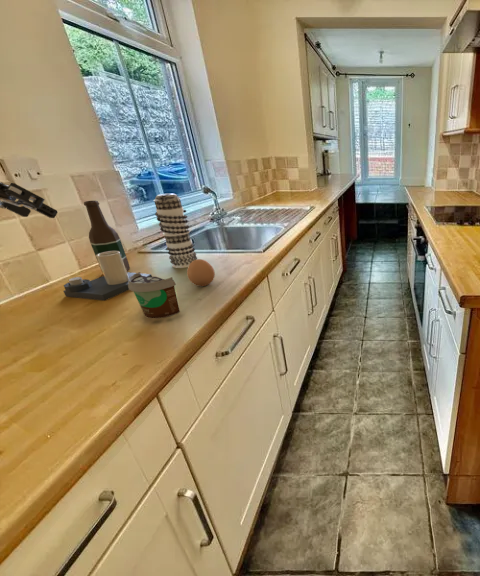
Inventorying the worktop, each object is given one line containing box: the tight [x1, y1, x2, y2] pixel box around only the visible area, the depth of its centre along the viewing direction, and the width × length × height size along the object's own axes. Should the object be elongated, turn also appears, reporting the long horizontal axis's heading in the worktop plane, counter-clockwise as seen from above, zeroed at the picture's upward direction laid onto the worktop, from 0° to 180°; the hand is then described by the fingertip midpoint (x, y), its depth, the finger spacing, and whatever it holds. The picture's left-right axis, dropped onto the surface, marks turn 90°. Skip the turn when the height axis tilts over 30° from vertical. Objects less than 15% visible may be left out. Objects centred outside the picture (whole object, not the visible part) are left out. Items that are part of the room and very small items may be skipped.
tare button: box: [68, 276, 84, 285], centre depth 92 cm, size 3×3×2 cm
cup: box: [95, 251, 129, 285], centre depth 96 cm, size 5×5×9 cm
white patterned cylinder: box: [152, 193, 198, 269], centre depth 112 cm, size 9×9×25 cm
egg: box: [186, 258, 216, 287], centre depth 98 cm, size 7×7×8 cm
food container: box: [128, 272, 181, 319], centre depth 80 cm, size 12×6×10 cm, turn 71°
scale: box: [62, 271, 153, 301], centre depth 97 cm, size 14×16×4 cm
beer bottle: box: [83, 200, 131, 272], centre depth 106 cm, size 8×8×24 cm
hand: (41, 214), depth 78 cm, fingers open, 8 cm apart
